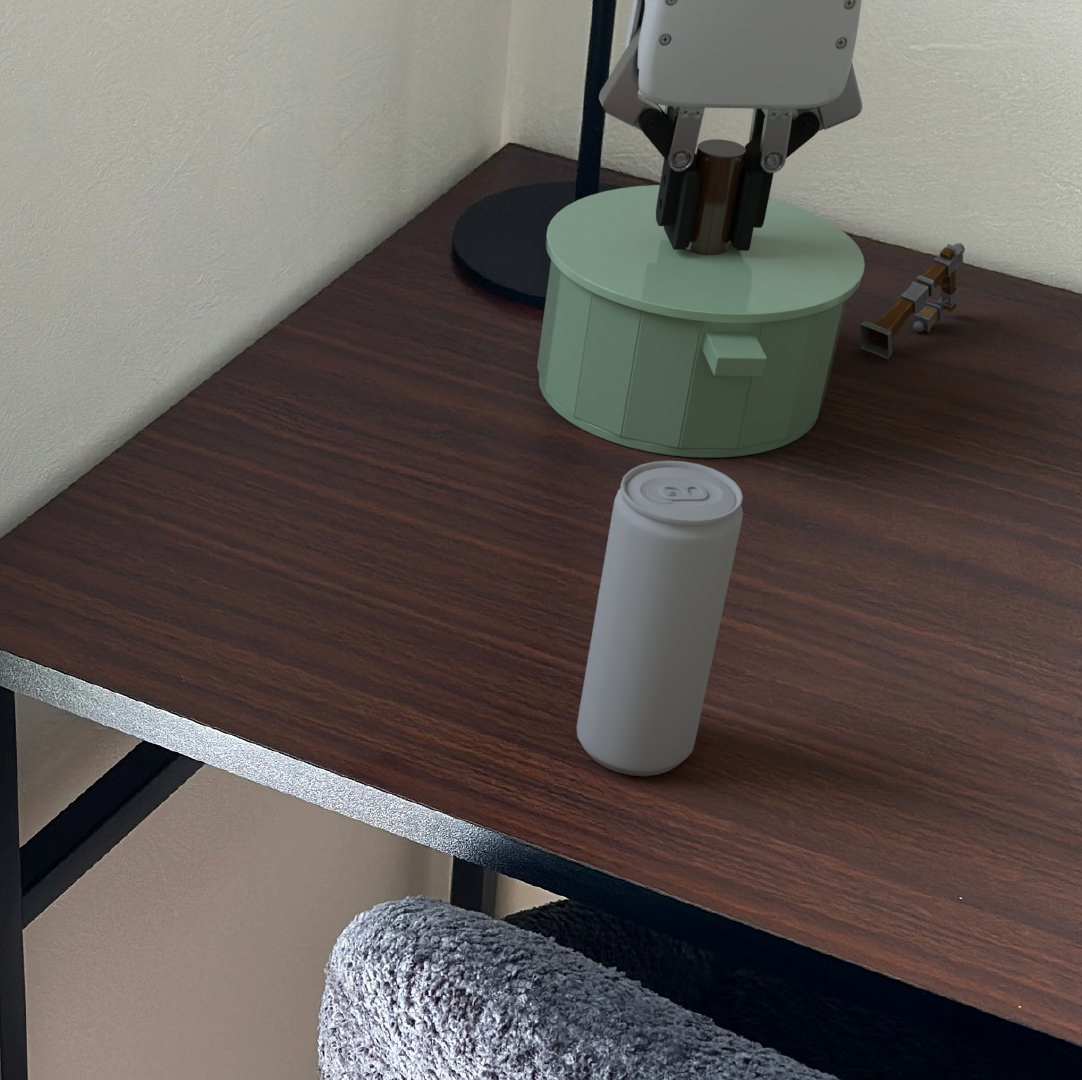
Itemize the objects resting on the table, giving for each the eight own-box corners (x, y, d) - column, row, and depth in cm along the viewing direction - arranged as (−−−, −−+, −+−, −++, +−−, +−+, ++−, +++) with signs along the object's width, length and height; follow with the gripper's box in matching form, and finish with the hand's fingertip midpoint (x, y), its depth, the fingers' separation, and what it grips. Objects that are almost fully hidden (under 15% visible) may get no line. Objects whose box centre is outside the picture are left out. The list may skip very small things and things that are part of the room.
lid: (817, 206, 114) (841, 93, 110) (897, 337, 101) (927, 215, 98) (524, 202, 113) (538, 87, 109) (569, 333, 101) (586, 209, 97)
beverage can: (564, 714, 89) (605, 459, 81) (676, 712, 89) (728, 457, 81) (587, 784, 85) (633, 523, 77) (704, 781, 85) (761, 521, 78)
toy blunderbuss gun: (975, 300, 119) (976, 238, 115) (889, 392, 117) (888, 332, 114) (947, 290, 120) (947, 228, 116) (862, 381, 118) (859, 321, 115)
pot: (773, 309, 120) (800, 180, 115) (865, 486, 104) (900, 346, 99) (514, 305, 119) (530, 176, 115) (568, 483, 104) (589, 341, 99)
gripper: (930, -172, 98) (844, 212, 110) (585, -179, 97) (536, 207, 109) (978, -127, 92) (882, 273, 104) (612, -135, 92) (557, 268, 103)
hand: (705, 236), depth 106 cm, fingers closed on lid, 2 cm apart
